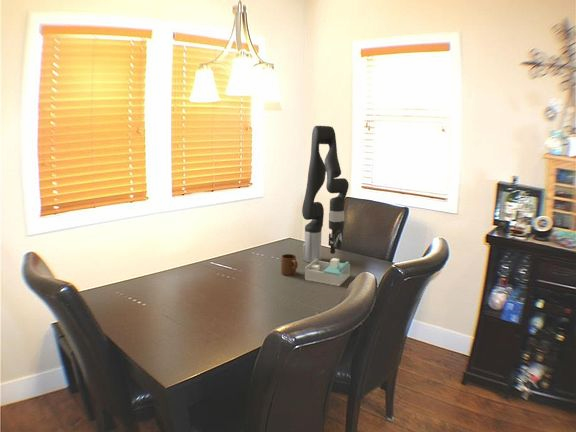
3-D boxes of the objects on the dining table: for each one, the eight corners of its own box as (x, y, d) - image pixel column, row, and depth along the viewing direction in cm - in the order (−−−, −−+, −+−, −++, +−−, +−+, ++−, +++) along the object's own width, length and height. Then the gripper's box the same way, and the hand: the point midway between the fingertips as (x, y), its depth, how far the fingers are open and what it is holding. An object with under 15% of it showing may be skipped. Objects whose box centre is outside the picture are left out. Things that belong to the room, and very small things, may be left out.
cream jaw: (330, 267, 222) (330, 260, 221) (332, 265, 225) (332, 257, 224) (336, 268, 220) (337, 261, 219) (339, 266, 223) (339, 259, 222)
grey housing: (304, 279, 223) (304, 267, 221) (316, 270, 236) (316, 258, 235) (339, 286, 215) (339, 273, 214) (349, 275, 228) (350, 263, 227)
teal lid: (323, 272, 217) (323, 267, 217) (334, 263, 231) (334, 258, 230) (339, 275, 214) (339, 269, 213) (349, 265, 227) (350, 260, 226)
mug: (303, 277, 226) (303, 259, 224) (290, 280, 222) (290, 262, 220) (291, 270, 236) (291, 253, 234) (278, 272, 232) (278, 255, 230)
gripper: (334, 215, 225) (333, 246, 228) (323, 221, 212) (323, 254, 216) (348, 217, 221) (347, 248, 225) (338, 223, 209) (337, 256, 213)
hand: (335, 251), depth 220 cm, fingers open, 8 cm apart
